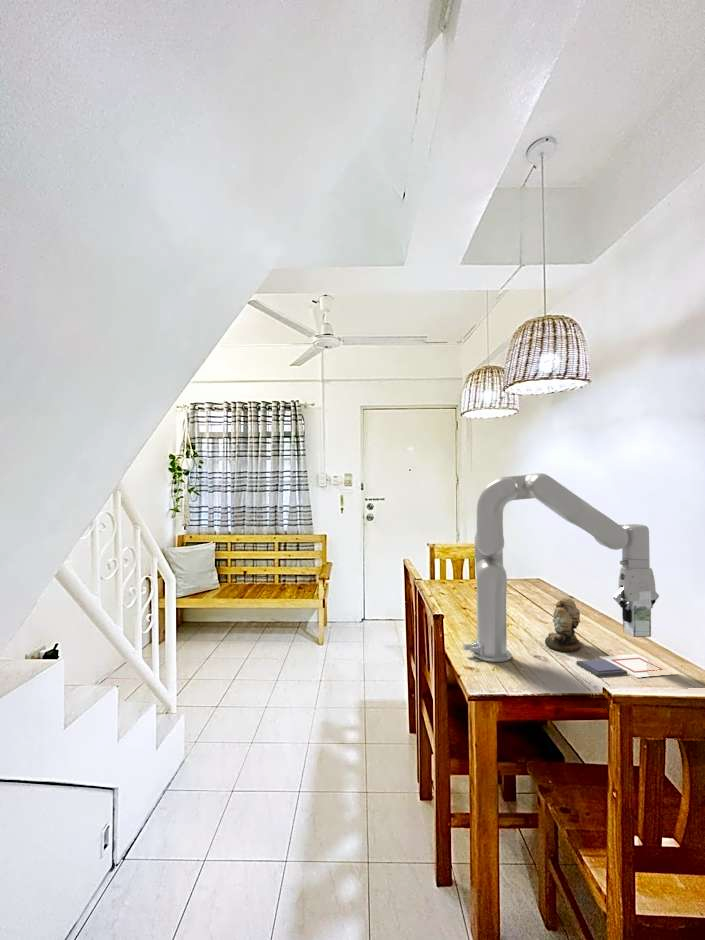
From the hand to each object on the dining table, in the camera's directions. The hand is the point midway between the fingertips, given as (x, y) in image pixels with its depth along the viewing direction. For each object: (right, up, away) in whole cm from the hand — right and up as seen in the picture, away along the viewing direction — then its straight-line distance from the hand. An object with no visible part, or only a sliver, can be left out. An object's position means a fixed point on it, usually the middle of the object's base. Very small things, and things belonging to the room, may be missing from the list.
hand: (636, 620), depth 156 cm
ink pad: (-13, -14, -3) cm, 19 cm away
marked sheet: (0, -14, 0) cm, 14 cm away
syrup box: (0, -5, 0) cm, 5 cm away
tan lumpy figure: (-15, -15, +20) cm, 29 cm away
